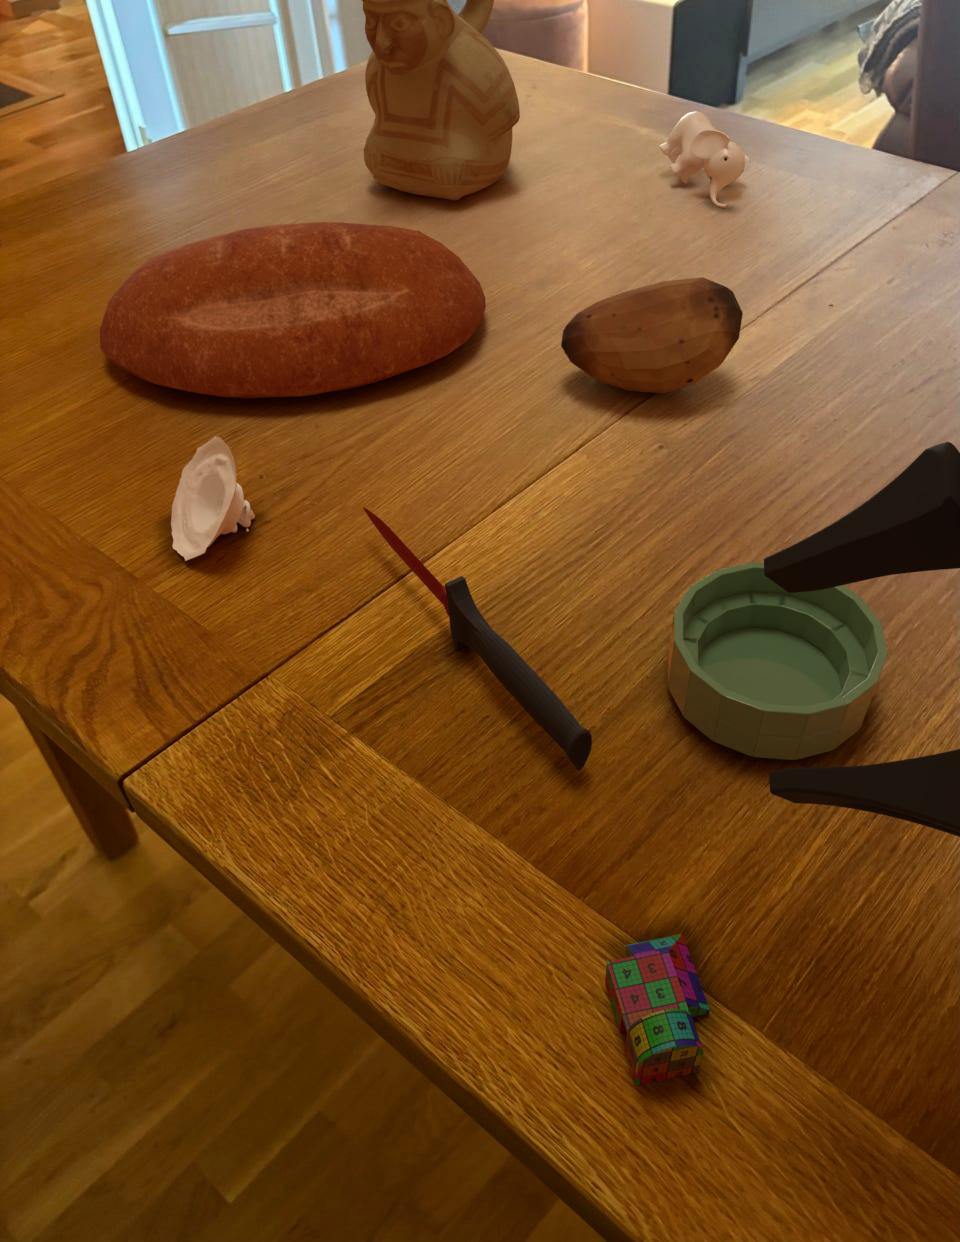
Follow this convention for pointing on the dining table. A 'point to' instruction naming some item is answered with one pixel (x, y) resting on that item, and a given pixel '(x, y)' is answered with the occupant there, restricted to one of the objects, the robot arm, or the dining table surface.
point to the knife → (498, 655)
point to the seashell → (207, 500)
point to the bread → (291, 310)
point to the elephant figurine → (704, 153)
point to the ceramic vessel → (436, 98)
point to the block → (657, 1008)
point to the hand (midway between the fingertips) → (779, 677)
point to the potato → (655, 335)
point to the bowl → (773, 663)
